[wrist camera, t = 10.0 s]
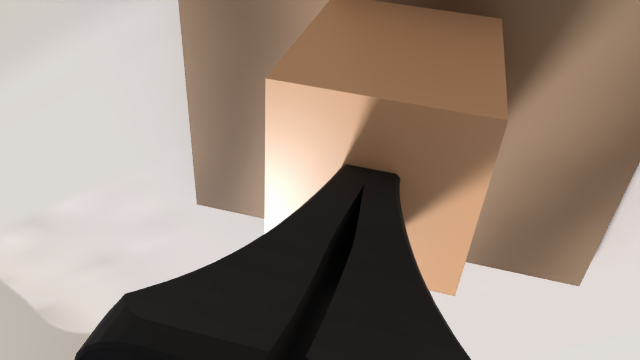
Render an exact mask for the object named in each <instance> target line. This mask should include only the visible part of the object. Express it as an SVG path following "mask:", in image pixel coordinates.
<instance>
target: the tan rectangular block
mask: <svg viewBox="0 0 640 360" xmlns="http://www.w3.org/2000/svg"><path fill="white" fill-rule="evenodd" d="M507 124H508V105H507V90H506V74H505V59H504V43H503V27H502V19H500V18H493V17H486V16H479V15H472V14H465V13H458V12H451V11H444V10H437V9H430V8H423V7H416V6H409V5H402V4H395V3H388V2H381V1H374V0H329V2H328V3H327V4H326V5H325V6H324V8H323V9H322V10H321V11H320V13H319V14H318V15H317V16H316V17H315V19H314V20H313V21H312V22H311V24H310V25H309V26H308V27H307V28H306V30H305V31H304V32H303V33H302V34H301V36H300V37H299V38H298V39H297V41H296V42H295V43H294V44H293V45H292V47H291V48H290V49H289V50H288V52H287V53H286V54H285V55H284V56H283V58H282V59H281V60H280V61H279V63H278V64H277V65H276V66H275V67H274V69H273V70H272V71H271V72H270V74H269V75H268V76H267V77H266V78H265V233H267V232H268V231H270V230H271V229H273V228H274V227H275V226H277V225H278V224H279V223H281V222H282V221H283V220H285V219H286V218H287V217H288V216H290V215H291V214H292V213H294V212H295V211H296V210H297V209H299V208H300V207H301V206H302V205H303V204H304V203H305V202H307V201H308V200H309V199H310V198H311V197H312V196H313V195H314V194H316V193H317V192H318V191H319V190H320V189H321V188H322V187H323V186H324V185H325V184H326V183H327V182H328V181H329V180H330V179H331V178H332V177H333V176H334V175H335V174H336V173H337V171H338V170H339V169H340V168H341V167H342V166H344V165H346V164H348V165H353V166H358V167H364V168H369V169H374V170H379V171H385V172H390V173H395V174H397V175H398V176H399V178H400V201H401V208H402V214H403V218H404V223H405V227H406V231H407V235H408V238H409V242H410V245H411V248H412V251H413V254H414V257H415V259H416V262H417V265H418V267H419V270H420V272H421V275H422V277H423V279H424V281H425V284H426V286H427V288H428V290H430V291H435V292H439V293H443V294H448V295H452V296H455V294H456V291H457V288H458V284H459V281H460V278H461V274H462V271H463V268H464V265H465V261H466V258H467V255H468V252H469V248H470V245H471V242H472V238H473V235H474V232H475V229H476V225H477V222H478V219H479V215H480V212H481V209H482V206H483V202H484V199H485V196H486V192H487V189H488V186H489V183H490V179H491V176H492V173H493V170H494V166H495V163H496V160H497V156H498V153H499V150H500V147H501V143H502V140H503V137H504V133H505V130H506V127H507Z"/></svg>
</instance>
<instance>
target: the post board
mask: <svg viewBox="0 0 640 360" xmlns="http://www.w3.org/2000/svg"><path fill="white" fill-rule="evenodd" d="M178 1H179V12H180V23H181V34H182V45H183V56H184V67H185V78H186V89H187V100H188V111H189V122H190V132H191V143H192V154H193V165H194V176H195V187H196V198H197V204H198V205H203V206H208V207H212V208H217V209H222V210H226V211H231V212H236V213H240V214H245V215H250V216H254V217H259V218H264V219H265V78H266V77H267V76H268V75H269V74H270V72H271V71H272V70H273V69H274V67H275V66H276V65H277V64H278V63H279V61H280V60H281V59H282V58H283V56H284V55H285V54H286V53H287V52H288V50H289V49H290V48H291V47H292V45H293V44H294V43H295V42H296V41H297V39H298V38H299V37H300V36H301V34H302V33H303V32H304V31H305V30H306V28H307V27H308V26H309V25H310V24H311V22H312V21H313V20H314V19H315V17H316V16H317V15H318V14H319V13H320V11H321V10H322V9H323V8H324V6H325V5H326V4H327V3H328V2H329V0H178ZM374 1H381V2H388V3H395V4H402V5H409V6H416V7H423V8H430V9H437V10H444V11H451V12H458V13H465V14H472V15H479V16H486V17H493V18H500V19H502V27H503V43H504V59H505V74H506V90H507V105H508V124H507V127H506V130H505V133H504V137H503V140H502V143H501V147H500V150H499V153H498V156H497V160H496V163H495V166H494V170H493V173H492V176H491V179H490V183H489V186H488V189H487V192H486V196H485V199H484V202H483V206H482V209H481V212H480V215H479V219H478V222H477V225H476V229H475V232H474V235H473V238H472V242H471V245H470V248H469V252H468V255H467V258H466V261H465V262H468V263H473V264H478V265H482V266H487V267H492V268H496V269H501V270H506V271H510V272H515V273H520V274H524V275H529V276H534V277H538V278H543V279H548V280H552V281H557V282H562V283H566V284H571V285H576V286H580V283H581V281H582V279H583V277H584V275H585V273H586V271H587V269H588V267H589V265H590V263H591V261H592V259H593V257H594V255H595V253H596V250H597V248H598V246H599V244H600V242H601V240H602V238H603V236H604V234H605V232H606V230H607V228H608V226H609V224H610V222H611V219H612V217H613V215H614V213H615V211H616V209H617V207H618V205H619V203H620V201H621V199H622V197H623V195H624V193H625V191H626V188H627V186H628V184H629V182H630V180H631V178H632V176H633V174H634V172H635V170H636V168H637V166H638V164H639V162H640V0H374Z"/></svg>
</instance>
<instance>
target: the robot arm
mask: <svg viewBox="0 0 640 360" xmlns="http://www.w3.org/2000/svg"><path fill="white" fill-rule="evenodd" d="M75 360H471V359H470V357H469V356H468V355H467V353H466V352H465V350H464V349H463V347H462V346H461V345H460V343H459V342H458V340H457V339H456V337H455V336H454V334H453V333H452V331H451V329H450V328H449V326H448V324H447V323H446V321H445V319H444V318H443V316H442V314H441V312H440V311H439V309H438V307H437V306H436V304H435V302H434V300H433V298H432V296H431V294H430V292H429V290H428V288H427V286H426V284H425V281H424V279H423V277H422V275H421V272H420V270H419V267H418V265H417V262H416V259H415V257H414V254H413V251H412V248H411V245H410V242H409V238H408V235H407V231H406V227H405V223H404V218H403V214H402V208H401V201H400V178H399V176H398V175H397V174H395V173H390V172H385V171H379V170H374V169H369V168H364V167H358V166H353V165H348V164H346V165H344V166H342V167H341V168H340V169H339V170H338V171H337V173H336V174H335V175H334V176H333V177H332V178H331V179H330V180H329V181H328V182H327V183H326V184H325V185H324V186H323V187H322V188H321V189H320V190H319V191H318V192H317V193H316V194H314V195H313V196H312V197H311V198H310V199H309V200H308V201H307V202H305V203H304V204H303V205H302V206H301V207H300V208H299V209H297V210H296V211H295V212H294V213H292V214H291V215H290V216H288V217H287V218H286V219H285V220H283V221H282V222H281V223H279V224H278V225H277V226H275V227H274V228H273V229H271V230H270V231H268V232H267V233H265V234H264V235H262V236H261V237H259V238H258V239H256V240H254V241H253V242H251V243H250V244H248V245H246V246H245V247H243V248H241V249H239V250H237V251H235V252H234V253H232V254H230V255H228V256H226V257H224V258H222V259H220V260H218V261H216V262H214V263H212V264H210V265H207V266H205V267H203V268H200V269H198V270H196V271H193V272H191V273H188V274H185V275H183V276H180V277H178V278H175V279H172V280H169V281H166V282H163V283H160V284H157V285H153V286H150V287H147V288H144V289H140V290H137V291H134V292H130V293H126V294H125V295H124V296H123V297H122V298H121V299H120V300H119V301H118V302H117V303H116V304H115V305H114V307H113V308H112V309H111V310H110V311H109V312H108V313H107V314H106V316H105V317H104V318H103V319H102V320H101V322H100V323H99V324H98V326H97V327H96V328H95V330H94V331H93V332H92V334H91V335H90V336H89V338H88V339H87V340H86V342H85V343H84V344H83V346H82V347H81V348H80V350H79V351H78V352H77V354H76V357H75Z"/></svg>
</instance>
